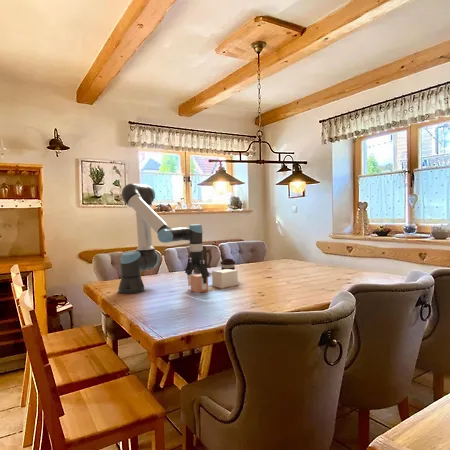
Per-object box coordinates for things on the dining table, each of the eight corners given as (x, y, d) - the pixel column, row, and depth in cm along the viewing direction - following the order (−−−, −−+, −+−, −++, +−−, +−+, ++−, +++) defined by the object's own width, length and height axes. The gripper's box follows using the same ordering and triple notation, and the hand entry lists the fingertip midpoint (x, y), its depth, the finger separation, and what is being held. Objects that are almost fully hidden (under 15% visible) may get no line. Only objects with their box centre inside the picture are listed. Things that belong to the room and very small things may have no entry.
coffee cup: (234, 283, 230) (233, 260, 229) (219, 283, 232) (218, 260, 231) (236, 280, 240) (236, 258, 239) (222, 280, 242) (222, 258, 241)
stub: (197, 292, 203) (196, 276, 203) (191, 290, 208) (190, 275, 207) (208, 290, 208) (207, 274, 208) (201, 288, 213) (201, 273, 212)
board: (201, 294, 200) (201, 293, 200) (187, 290, 211) (187, 289, 211) (240, 286, 220) (240, 285, 220) (225, 283, 230) (225, 282, 230)
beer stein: (190, 272, 274) (191, 246, 272) (195, 270, 284) (196, 245, 283) (209, 274, 269) (210, 248, 268) (213, 272, 279) (215, 246, 278)
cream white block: (221, 288, 213) (221, 272, 213) (212, 285, 220) (212, 271, 220) (237, 284, 222) (237, 270, 221) (228, 282, 228) (227, 268, 228)
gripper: (214, 251, 199) (215, 289, 200) (189, 248, 218) (189, 283, 219) (204, 253, 194) (205, 291, 195) (178, 249, 213) (179, 285, 214)
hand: (197, 287), depth 207 cm, fingers open, 13 cm apart
